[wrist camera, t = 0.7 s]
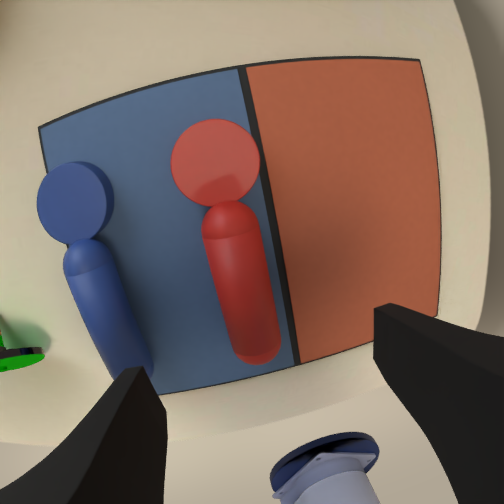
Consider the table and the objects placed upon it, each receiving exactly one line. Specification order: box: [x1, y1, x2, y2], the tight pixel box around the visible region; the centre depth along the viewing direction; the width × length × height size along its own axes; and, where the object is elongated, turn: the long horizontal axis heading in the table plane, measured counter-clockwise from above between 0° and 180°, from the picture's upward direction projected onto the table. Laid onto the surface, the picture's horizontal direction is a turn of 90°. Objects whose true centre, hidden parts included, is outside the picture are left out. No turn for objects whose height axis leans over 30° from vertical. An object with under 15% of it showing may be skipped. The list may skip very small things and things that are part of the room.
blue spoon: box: [37, 162, 154, 381], centre depth 13 cm, size 11×4×2 cm, turn 11°
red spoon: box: [170, 119, 281, 365], centre depth 13 cm, size 11×4×2 cm, turn 11°
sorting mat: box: [38, 56, 442, 396], centre depth 15 cm, size 16×20×1 cm
